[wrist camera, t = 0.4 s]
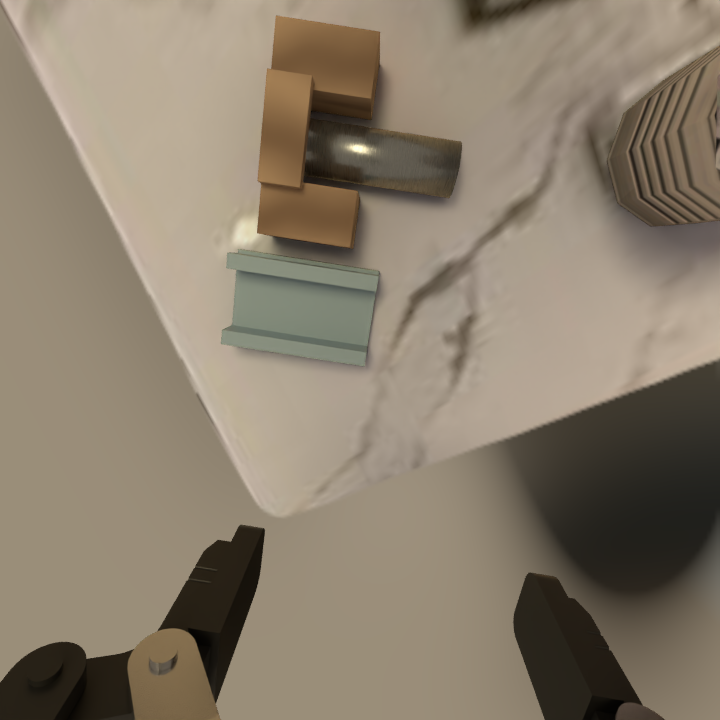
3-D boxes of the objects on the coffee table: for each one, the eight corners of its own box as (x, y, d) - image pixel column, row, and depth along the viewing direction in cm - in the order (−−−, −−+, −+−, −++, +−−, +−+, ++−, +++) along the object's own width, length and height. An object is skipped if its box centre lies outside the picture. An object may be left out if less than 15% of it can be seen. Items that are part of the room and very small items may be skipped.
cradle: (241, 249, 36) (227, 248, 33) (379, 270, 36) (379, 272, 32) (234, 339, 38) (220, 347, 34) (364, 359, 38) (363, 370, 34)
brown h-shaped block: (289, 49, 32) (272, 6, 27) (379, 63, 32) (380, 23, 27) (272, 236, 36) (253, 232, 30) (353, 248, 36) (348, 247, 30)
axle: (279, 174, 35) (266, 166, 31) (283, 120, 34) (271, 105, 30) (445, 200, 35) (453, 195, 31) (455, 147, 33) (465, 135, 30)
